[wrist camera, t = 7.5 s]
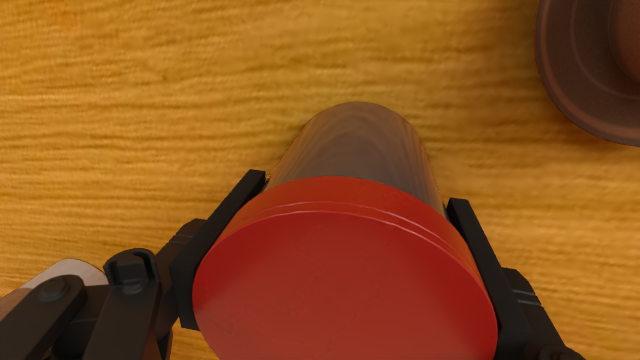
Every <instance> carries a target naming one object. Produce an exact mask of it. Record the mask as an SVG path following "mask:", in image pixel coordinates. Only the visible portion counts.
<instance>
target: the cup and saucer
mask: <svg viewBox="0 0 640 360" xmlns="http://www.w3.org/2000/svg"><path fill="white" fill-rule="evenodd" d="M534 51H535V60H536V64H537V68H538V73H539V75H540V78H541V81H542V83H543V86H544V87H545V89H546V91H547V93H548V95H549V97H550V98H551V99H552V101H553V102H554V104H555V105H556V107H557V108H558V109H559V110H560V111H561V112H562V113H563V114H564V115H565V116H566V117H567V118H568V119H569V120H570V121H572V122H573V123H574V124H575V125H577V126H578V127H580V128H581V129H583V130H585V131H586V132H588V133H590V134H592V135H594V136H596V137H599V138H602V139H605V140H607V141H610V142H615V143H619V144H623V145H629V146H636V147H640V0H538V5H537V10H536V15H535V24H534Z"/></svg>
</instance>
